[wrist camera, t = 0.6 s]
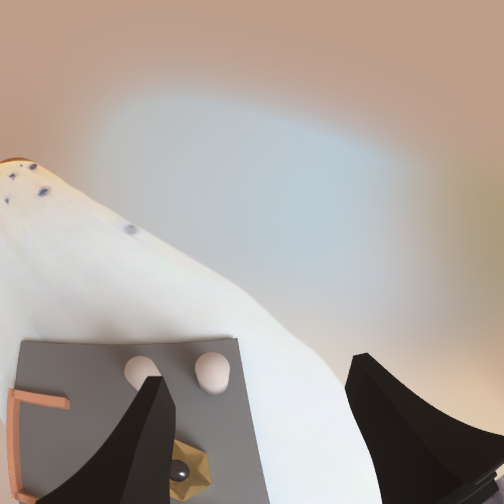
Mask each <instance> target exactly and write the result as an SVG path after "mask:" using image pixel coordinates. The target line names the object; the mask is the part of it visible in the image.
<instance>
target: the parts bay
mask: <svg viewBox="0 0 504 504" xmlns="http://www.w3.org/2000/svg"><path fill="white" fill-rule="evenodd" d="M20 401H22V402H26V403H31V404H36V405H42V406H47V407H53V408H60V409H67V410H70V400H68V399H66V398H63V397H55V396H48V395H42V394H36V393H30V392H25V391H20V390H15V389H10V388H9V390H8V403H7V454H8V455H7V457H8V470H9V479H10V486H11V493H12V498H14V499H16V500H19V501H21V502H24V503H26V504H35V502H36V501H37V500H39V499H40V498H37V497H34V496H31V495H29V494H26V493H24V490H23V483H22V474H21V463H20V446H19V412H20Z"/></svg>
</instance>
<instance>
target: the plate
mask: <svg viewBox="0 0 504 504" xmlns="http://www.w3.org/2000/svg"><path fill="white" fill-rule="evenodd" d="M147 376H163V377H164V379H165V382H166V384H167V387H168V389H169V392H170V394H171V397H172V399H173V401H174V404H175V406H176V431H175V440H177V441H180V442H182V443H184V444H186V445H188V446H191V447H193V448H195V449H198V450H200V451H203V452H205V453H207V454H208V459H209V465H210V471H211V476H212V485H211V486H209V487H208V488H206V489H204V490H203V491H201V492H199V493H198V494H196V495H194V496H192V497H191V498H189V499H187V500H185V501H183V502H182V501H179V500H177V499H175V498H172V497H170V504H270V502H269V498H268V493H267V489H266V484H265V480H264V475H263V470H262V466H261V461H260V456H259V451H258V446H257V441H256V436H255V431H254V426H253V421H252V416H251V411H250V406H249V401H248V395H247V390H246V384H245V379H244V373H243V368H242V362H241V357H240V351H239V345H238V339H237V338H234V339H223V340H212V341H199V342H184V343H165V344H133V345H92V344H62V343H45V342H31V341H21V346H20V352H19V358H18V365H17V373H16V382H15V390H20V391H25V392H30V393H36V394H42V395H48V396H55V397H63V398H66V399H68V400H70V410H67V409H60V408H53V407H47V406H42V405H36V404H31V403H26V402H22V401H20V412H19V446H20V463H21V474H22V483H23V490H24V493H26V494H29V495H31V496H34V497H37V498H42V497H44V496H45V495H47V494H48V493H50V492H52V491H53V490H55V489H56V488H57V487H59V486H60V485H61V484H63V483H64V482H65V481H66V480H68V479H69V478H70V477H71V476H73V475H74V474H75V473H76V472H77V471H78V470H79V469H80V468H81V467H82V466H83V465H84V464H85V463H86V462H87V461H88V460H89V459H90V458H91V457H92V456H93V455H94V454H95V453H96V452H97V450H98V449H99V448H100V447H101V446H102V445H103V443H104V442H105V441H106V439H107V438H108V437H109V435H110V434H111V433H112V431H113V430H114V429H115V427H116V426H117V424H118V423H119V421H120V420H121V418H122V417H123V415H124V414H125V412H126V411H127V409H128V408H129V406H130V404H131V403H132V401H133V399H134V398H135V396H136V394H137V393H138V391H139V389H140V388H141V386H142V384H143V382H144V381H145V379H146V378H147ZM19 503H20V504H26V503H24V502H21V501H19Z"/></svg>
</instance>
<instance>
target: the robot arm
mask: <svg viewBox="0 0 504 504" xmlns="http://www.w3.org/2000/svg"><path fill="white" fill-rule="evenodd" d="M345 391H346V395H347V398H348V402H349V405H350V408H351V411H352V413H353V416H354V418H355V420H356V423H357V425H358V427H359V429H360V432H361V434H362V436H363V438H364V441H365V443H366V445H367V448H368V450H369V452H370V455H371V458H372V461H373V465H374V468H375V472H376V476H377V480H378V484H379V488H380V493H381V498H382V504H504V475H502V476H501V477H500V478H498V479H497V480H496V481H495V480H494V478H495V477H496V476H497V473H496V472H495V470H497V469H498V468H499V467H500V466H501V465H502V464H504V436H502V435H498V434H494V433H490V432H486V431H483V430H480V429H478V428H475V427H472V426H470V425H467V424H465V423H463V422H461V421H459V420H456V419H454V418H452V417H450V416H448V415H447V414H445V413H443V412H441V411H440V410H438V409H436V408H435V407H433V406H431V405H430V404H429V403H427V402H426V401H424V400H423V399H421V398H420V397H419V396H417V395H416V394H415V393H413V392H412V391H411V390H410V389H408V388H407V387H406V386H405V385H404V384H402V383H401V382H400V381H399V380H398V379H396V378H395V377H394V376H393V375H392V374H391V373H389V372H388V371H387V370H386V369H385V368H384V367H383V366H382V365H381V364H379V363H378V362H377V361H376V360H375V359H374V358H373V357H371V356H370V355H369V354H368V353H363V354H359V355H355V356H353V359H352V363H351V367H350V370H349V374H348V378H347V381H346V385H345ZM175 431H176V406H175V404H174V401H173V399H172V397H171V394H170V392H169V389H168V387H167V384H166V382H165V379H164V377H163V376H147V378H146V379H145V381H144V382H143V384H142V386H141V388H140V389H139V391H138V393H137V394H136V396H135V398H134V399H133V401H132V403H131V404H130V406H129V408H128V409H127V411H126V412H125V414H124V415H123V417H122V418H121V420H120V421H119V423H118V424H117V426H116V427H115V429H114V430H113V431H112V433H111V434H110V435H109V437H108V438H107V439H106V441H105V442H104V443H103V445H102V446H101V447H100V448H99V449H98V450H97V452H96V453H95V454H94V455H93V456H92V457H91V458H90V459H89V460H88V461H87V462H86V463H85V464H84V465H83V466H82V467H81V468H80V469H79V470H78V471H77V472H76V473H75V474H74V475H73V476H71V477H70V478H69V479H68V480H66V481H65V482H64V483H63V484H61V485H60V486H59V487H57V488H56V489H55V490H53V491H52V492H50V493H48V494H47V495H45V496H44V497H42V498H40V499H39V500H37V501H36V502H35V504H170V472H171V463H172V455H173V447H174V439H175Z"/></svg>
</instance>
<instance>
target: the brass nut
mask: <svg viewBox="0 0 504 504" xmlns="http://www.w3.org/2000/svg"><path fill="white" fill-rule="evenodd" d="M211 485H212V476H211V471H210V465H209V459H208V454H207V453H205V452H203V451H200V450H198V449H195V448H193V447H191V446H188V445H186V444H184V443H182V442H180V441H177V440H175V439H174V447H173V455H172V463H171V472H170V497H172V498H175V499H177V500H179V501H182V502H183V501H185V500H187V499H189V498H191V497H192V496H194V495H196V494H198V493H199V492H201V491H203V490H204V489H206V488H208V487H209V486H211Z"/></svg>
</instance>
